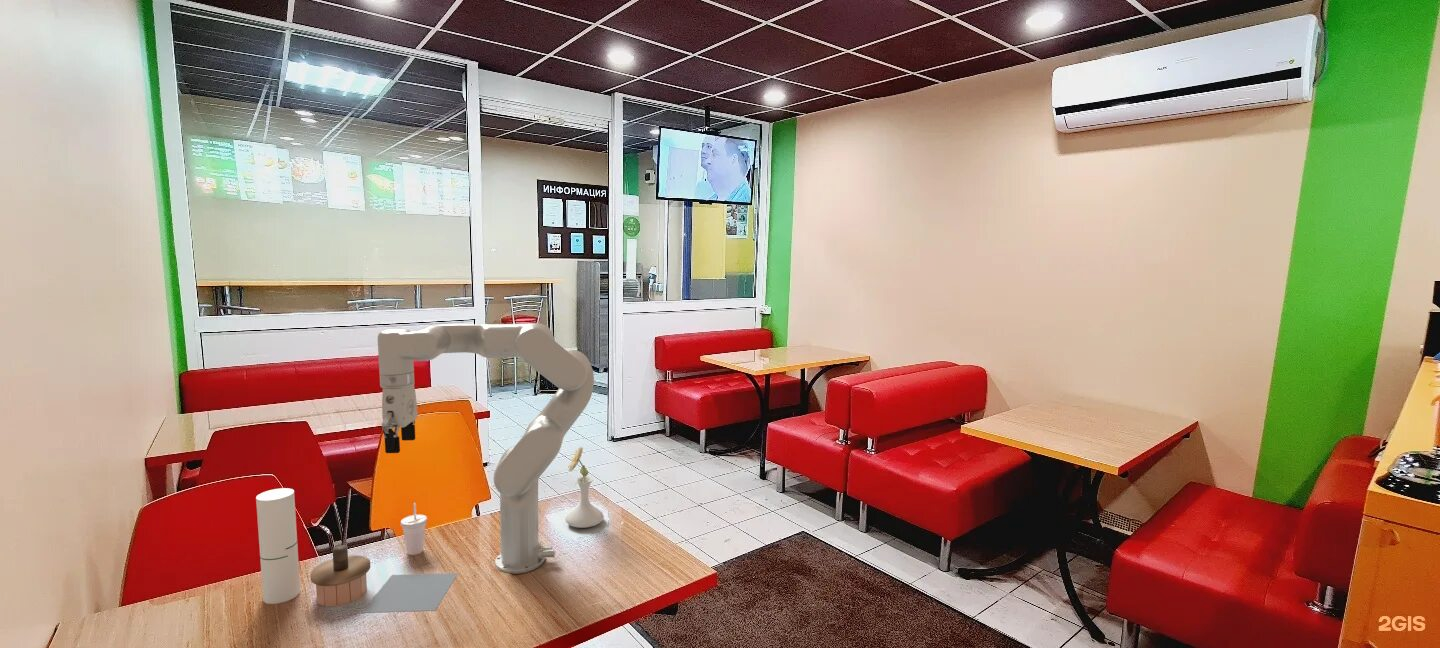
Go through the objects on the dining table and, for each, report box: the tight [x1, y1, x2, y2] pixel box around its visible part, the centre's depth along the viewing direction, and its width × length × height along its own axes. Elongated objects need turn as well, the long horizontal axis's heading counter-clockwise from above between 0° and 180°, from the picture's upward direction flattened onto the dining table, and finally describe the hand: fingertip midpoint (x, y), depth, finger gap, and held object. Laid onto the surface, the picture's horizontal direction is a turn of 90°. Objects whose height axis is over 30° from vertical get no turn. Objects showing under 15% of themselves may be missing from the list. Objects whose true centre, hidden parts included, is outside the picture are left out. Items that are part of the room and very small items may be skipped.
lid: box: [310, 544, 371, 586], centre depth 144 cm, size 12×12×6 cm
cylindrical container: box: [255, 487, 301, 605], centre depth 144 cm, size 7×7×25 cm
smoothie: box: [400, 502, 428, 556], centre depth 165 cm, size 6×6×14 cm
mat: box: [361, 572, 459, 614], centre depth 147 cm, size 16×16×1 cm
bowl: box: [315, 573, 368, 607], centre depth 145 cm, size 10×10×6 cm
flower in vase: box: [565, 446, 605, 529], centre depth 185 cm, size 13×11×25 cm
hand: (401, 446), depth 154 cm, fingers open, 9 cm apart
